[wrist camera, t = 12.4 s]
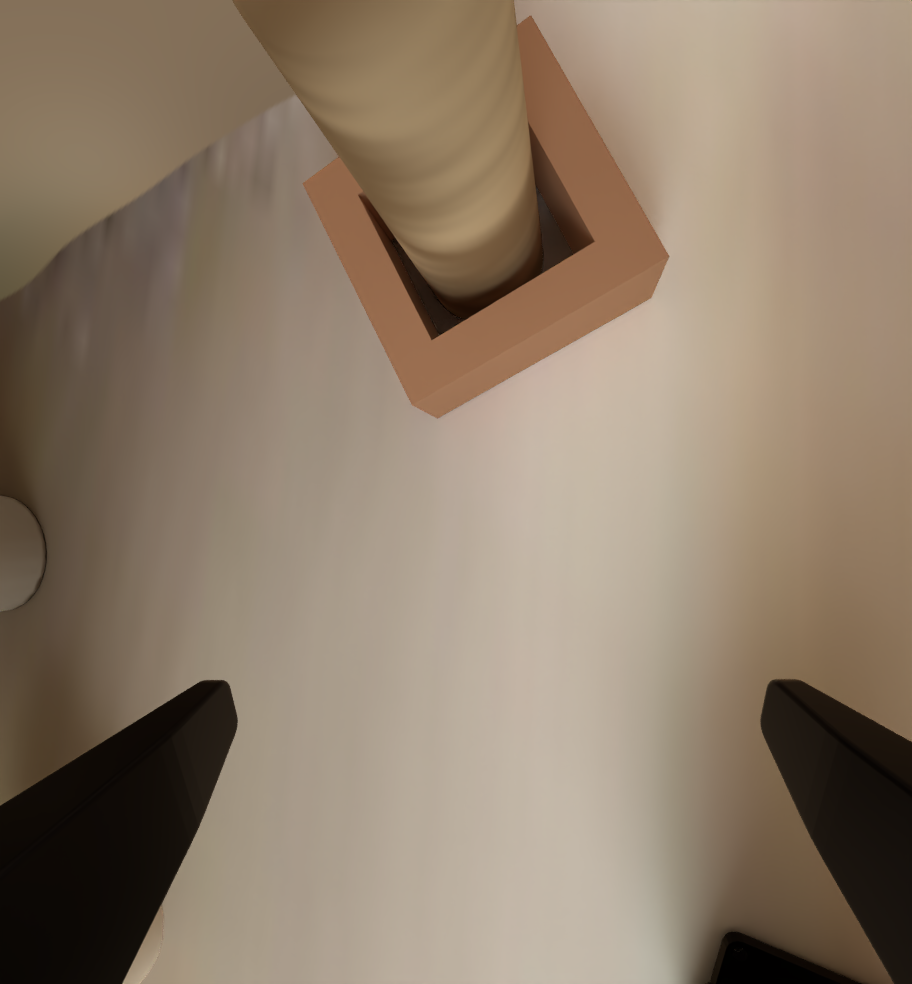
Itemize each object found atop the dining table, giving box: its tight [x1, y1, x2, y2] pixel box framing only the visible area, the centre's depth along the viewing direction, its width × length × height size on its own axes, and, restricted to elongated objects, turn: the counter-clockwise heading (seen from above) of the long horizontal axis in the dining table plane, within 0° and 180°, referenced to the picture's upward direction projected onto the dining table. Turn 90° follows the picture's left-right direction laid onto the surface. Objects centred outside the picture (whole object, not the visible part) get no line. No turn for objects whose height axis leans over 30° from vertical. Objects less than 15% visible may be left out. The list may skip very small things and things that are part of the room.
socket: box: [303, 16, 669, 418], centre depth 19 cm, size 10×10×4 cm
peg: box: [233, 0, 543, 319], centre depth 14 cm, size 5×5×13 cm
